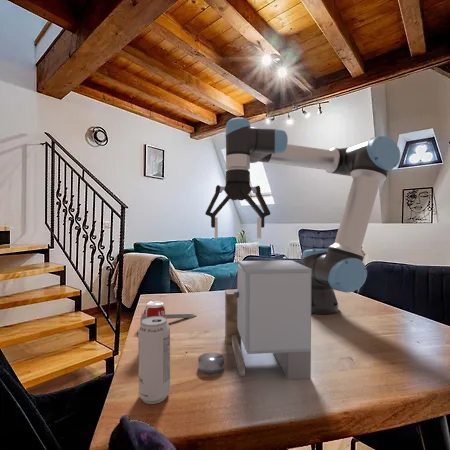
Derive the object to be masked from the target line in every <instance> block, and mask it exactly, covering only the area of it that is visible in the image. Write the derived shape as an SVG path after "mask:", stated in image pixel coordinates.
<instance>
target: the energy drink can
mask: <svg viewBox="0 0 450 450" xmlns="http://www.w3.org/2000/svg"><path fill="white" fill-rule="evenodd" d="M167 320H168V319H166V318H165V317H161V316H153V317H148V318H145V319H143V320H142V324H141V326H140V325H139V328H138V329H137V331H138V332H137V333H138V335H137V336H138V337H137V338H138V339H137V340H138V343H137V344H138V353H137V354H138V355H137V356H138V357H137V359H138V396H139V398H140V399H141V401H142V402H143V403H145V404H147V405H156V404H158V403H162V402H163V401H165V400H166V399H167V397H168V395H169V394H170V392H171V327H170V325H169V323H168V322H167Z"/></svg>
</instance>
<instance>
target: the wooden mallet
mask: <svg viewBox="0 0 450 450" xmlns="http://www.w3.org/2000/svg"><path fill="white" fill-rule="evenodd" d="M224 291H225V293H224V295H225V296H224V298H225V299H224V300H225V302H224V304H225V305H224V307H225V308H224V309H225V310H224V311H225V313H224V314H225V315H224V317H225V318H224V319H225V321H224V322H225V323H224V326H225V327H224V328H225V330H224V331H225V332H224V334H225V342H226V345H231V347H232V351H233V353H234V359H235V363H236V366H237V371H238V375H239V377H241V376H244V377H245V376H246V363H245V359H244V357H243V354H242V350H241V344H242V339H241V336H240V334H239V331H238V328H237V298H235V297H234V295H233V294H234V292H235V291H237V289H224Z"/></svg>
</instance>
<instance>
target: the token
mask: <svg viewBox="0 0 450 450" xmlns="http://www.w3.org/2000/svg"><path fill="white" fill-rule="evenodd" d="M197 360H198V361H197V363H198V365H197V366H198V371H199V372H200V373H202V374H204V375H208V376H210V375H211V376H212V375H214V376H215V375H218V374H220V373H221V372H224V369H225V357H224V356H223V354H222V353H218V352H211V351H210V352H209V351H208V352H205V353H202V354H200V355H199V356H198V358H197Z"/></svg>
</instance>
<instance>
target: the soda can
mask: <svg viewBox="0 0 450 450" xmlns="http://www.w3.org/2000/svg"><path fill="white" fill-rule="evenodd" d="M144 310H145V311H146V318H148V317H153V316H161V317H165V314H166V306H165V302H164V301H162V300H152V301H149V302H147V303H146V307H145V308H144Z"/></svg>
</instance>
